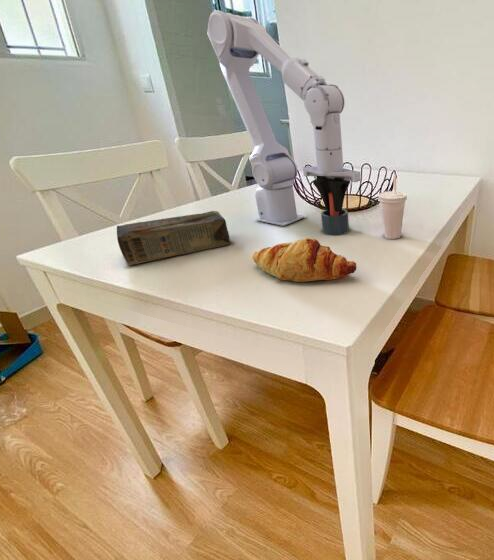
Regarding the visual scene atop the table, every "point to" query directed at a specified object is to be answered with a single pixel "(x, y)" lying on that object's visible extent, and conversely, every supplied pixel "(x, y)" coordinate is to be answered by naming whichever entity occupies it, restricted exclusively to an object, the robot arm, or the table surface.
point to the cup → (335, 222)
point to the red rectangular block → (332, 206)
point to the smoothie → (392, 211)
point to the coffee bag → (171, 236)
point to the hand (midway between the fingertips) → (334, 209)
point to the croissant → (303, 261)
